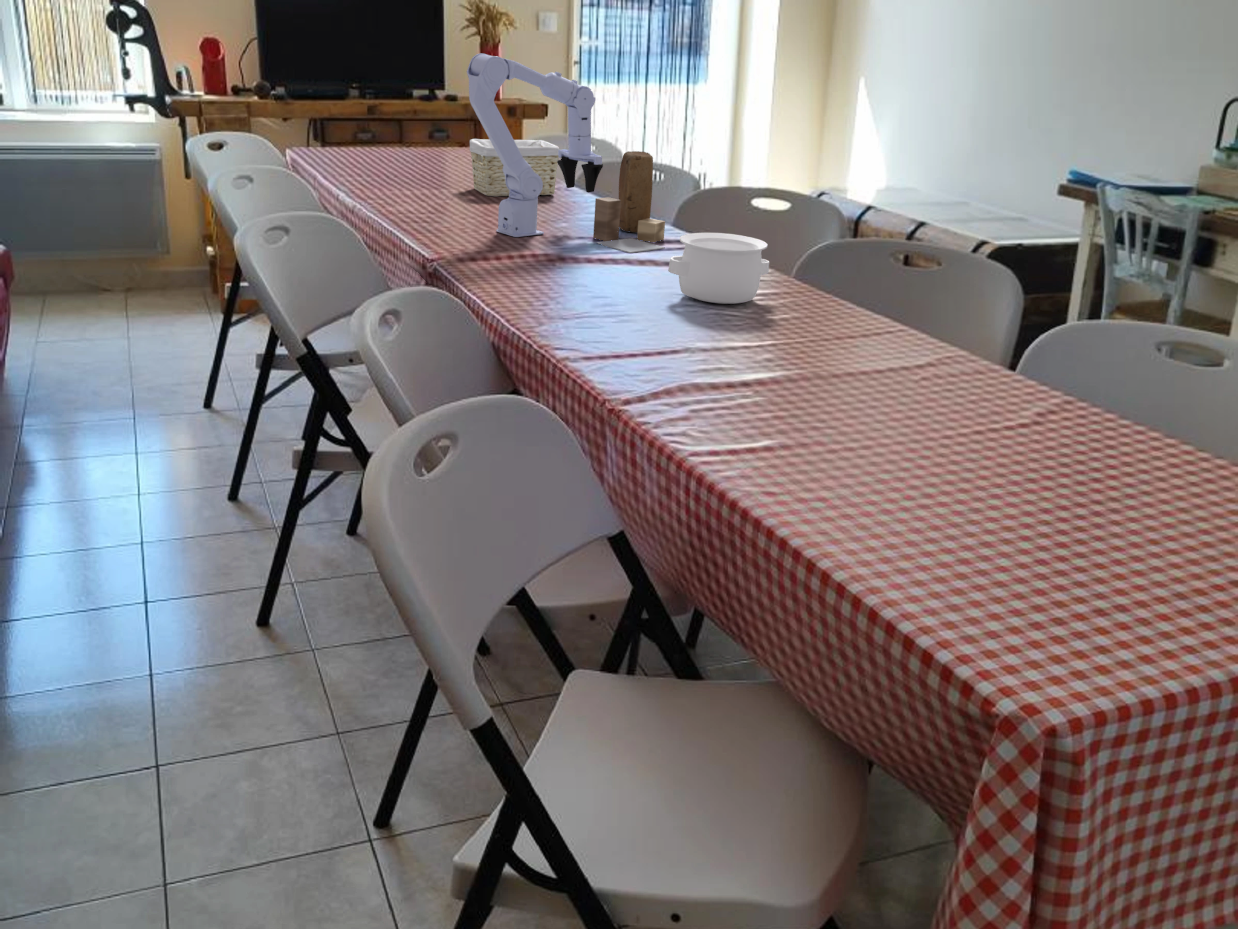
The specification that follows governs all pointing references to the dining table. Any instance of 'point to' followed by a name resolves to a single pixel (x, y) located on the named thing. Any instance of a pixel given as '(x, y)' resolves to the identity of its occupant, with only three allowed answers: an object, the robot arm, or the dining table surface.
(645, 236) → the oak cube
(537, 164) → the storage basket
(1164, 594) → the dining table surface
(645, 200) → the block
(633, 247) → the mat
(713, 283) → the pot
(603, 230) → the walnut pillar
